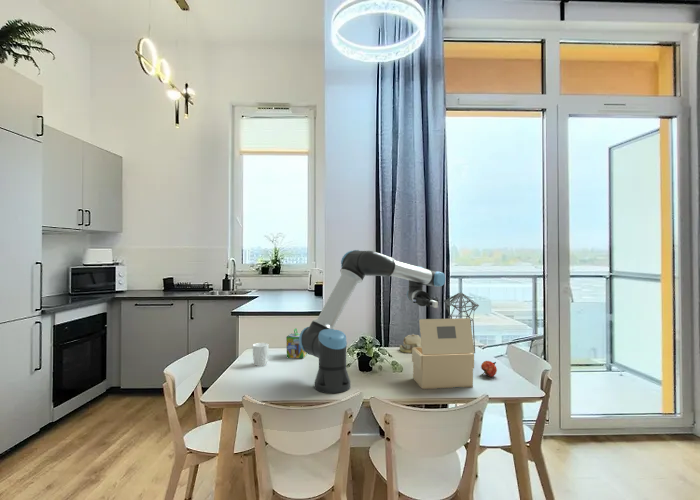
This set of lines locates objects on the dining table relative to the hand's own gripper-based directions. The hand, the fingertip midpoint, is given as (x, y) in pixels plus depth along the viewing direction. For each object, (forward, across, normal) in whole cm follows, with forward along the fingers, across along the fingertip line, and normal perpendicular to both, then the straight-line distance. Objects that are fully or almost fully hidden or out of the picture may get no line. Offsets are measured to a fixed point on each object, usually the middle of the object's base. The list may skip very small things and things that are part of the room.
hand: (436, 304), depth 188 cm
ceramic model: (-45, -2, -33) cm, 56 cm away
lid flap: (+13, 0, -11) cm, 18 cm away
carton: (+9, 0, -33) cm, 34 cm away
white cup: (-28, +81, -33) cm, 92 cm away
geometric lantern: (-25, -22, -33) cm, 47 cm away
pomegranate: (+3, -24, -33) cm, 41 cm away
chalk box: (-41, +63, -33) cm, 82 cm away
